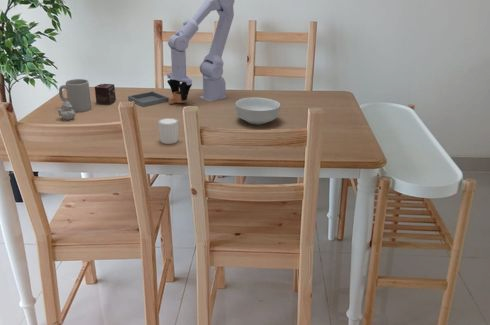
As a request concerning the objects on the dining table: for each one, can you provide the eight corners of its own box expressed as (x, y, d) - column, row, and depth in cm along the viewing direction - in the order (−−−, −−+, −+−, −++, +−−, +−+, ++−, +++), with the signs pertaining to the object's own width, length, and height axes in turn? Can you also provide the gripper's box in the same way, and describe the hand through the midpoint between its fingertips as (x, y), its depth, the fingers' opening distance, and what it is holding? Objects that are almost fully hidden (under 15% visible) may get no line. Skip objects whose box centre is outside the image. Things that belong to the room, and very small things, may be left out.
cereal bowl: (265, 132, 169) (266, 113, 167) (226, 123, 177) (226, 104, 174) (287, 119, 183) (288, 101, 180) (250, 111, 191) (250, 94, 188)
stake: (182, 99, 203) (182, 88, 201) (193, 104, 198) (193, 92, 196) (166, 103, 198) (166, 91, 196) (177, 107, 193) (177, 95, 191)
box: (109, 105, 194) (108, 87, 191) (96, 104, 195) (94, 86, 192) (116, 101, 199) (114, 84, 196) (103, 100, 200) (101, 83, 197)
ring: (181, 98, 201) (181, 90, 199) (189, 101, 197) (189, 92, 196) (166, 101, 196) (165, 93, 195) (173, 104, 192) (173, 96, 191)
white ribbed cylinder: (159, 137, 163) (158, 117, 160) (179, 137, 163) (179, 117, 160) (157, 144, 156) (156, 124, 153) (179, 144, 157) (178, 124, 154)
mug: (94, 106, 192) (91, 79, 188) (86, 112, 185) (83, 85, 180) (66, 104, 193) (62, 78, 189) (56, 111, 186) (52, 83, 181)
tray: (153, 96, 207) (152, 91, 206) (168, 102, 199) (168, 97, 198) (128, 101, 199) (128, 96, 198) (143, 108, 191) (143, 102, 190)
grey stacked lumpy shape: (71, 122, 174) (68, 101, 171) (55, 120, 175) (51, 99, 172) (78, 117, 179) (76, 97, 176) (62, 116, 180) (59, 95, 177)
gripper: (160, 63, 194) (162, 96, 199) (181, 70, 184) (182, 104, 190) (174, 61, 198) (176, 93, 204) (195, 67, 188) (196, 101, 194)
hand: (180, 98), depth 197 cm, fingers closed on ring, 5 cm apart
